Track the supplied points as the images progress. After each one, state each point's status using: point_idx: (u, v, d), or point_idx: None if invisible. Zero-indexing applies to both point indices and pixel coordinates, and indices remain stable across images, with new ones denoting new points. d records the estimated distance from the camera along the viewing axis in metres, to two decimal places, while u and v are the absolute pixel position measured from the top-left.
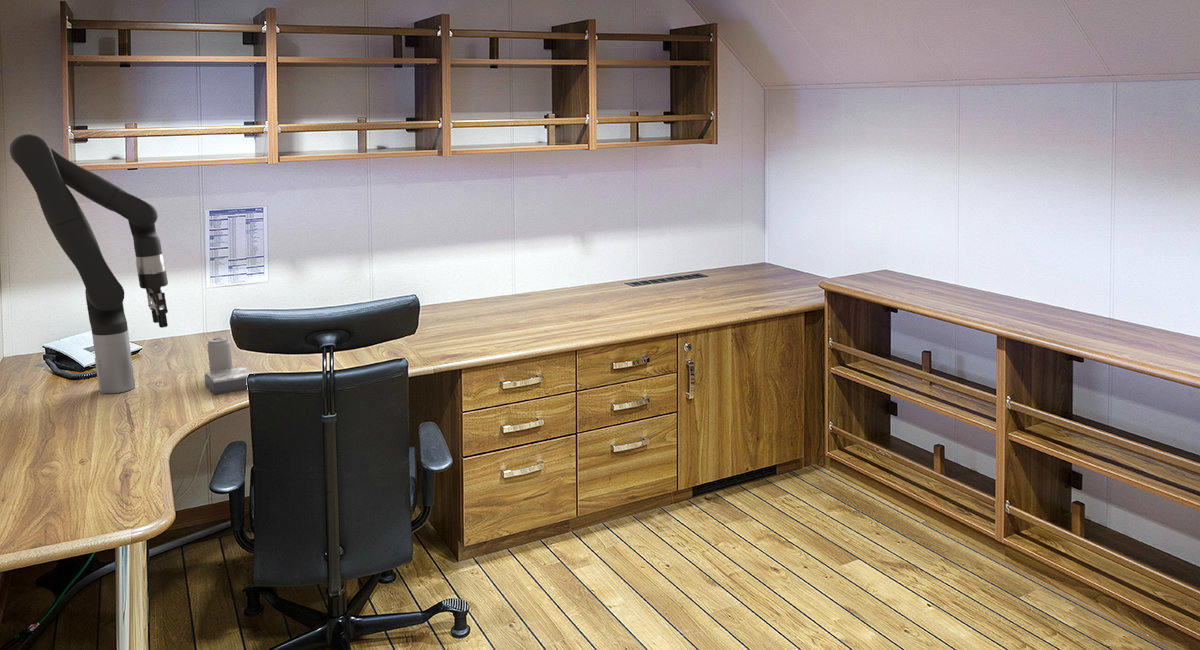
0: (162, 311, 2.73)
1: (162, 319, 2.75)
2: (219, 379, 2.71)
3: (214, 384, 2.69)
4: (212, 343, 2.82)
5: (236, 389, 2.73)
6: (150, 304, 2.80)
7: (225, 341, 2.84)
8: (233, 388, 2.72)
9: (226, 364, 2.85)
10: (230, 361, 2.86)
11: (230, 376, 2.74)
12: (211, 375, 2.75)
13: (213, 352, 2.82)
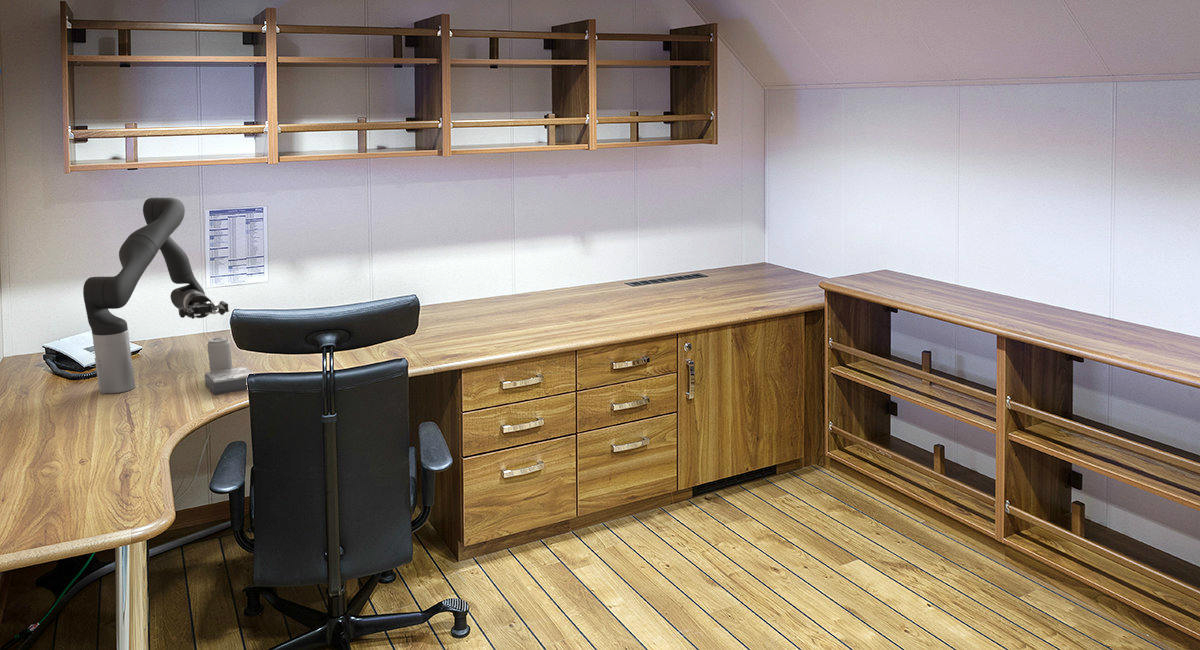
0: None
1: None
2: (219, 379, 2.71)
3: (214, 384, 2.69)
4: (212, 343, 2.82)
5: (236, 389, 2.73)
6: (193, 307, 2.96)
7: (225, 341, 2.84)
8: (233, 388, 2.72)
9: (226, 364, 2.85)
10: (230, 361, 2.86)
11: (230, 376, 2.74)
12: (211, 375, 2.75)
13: (213, 352, 2.82)
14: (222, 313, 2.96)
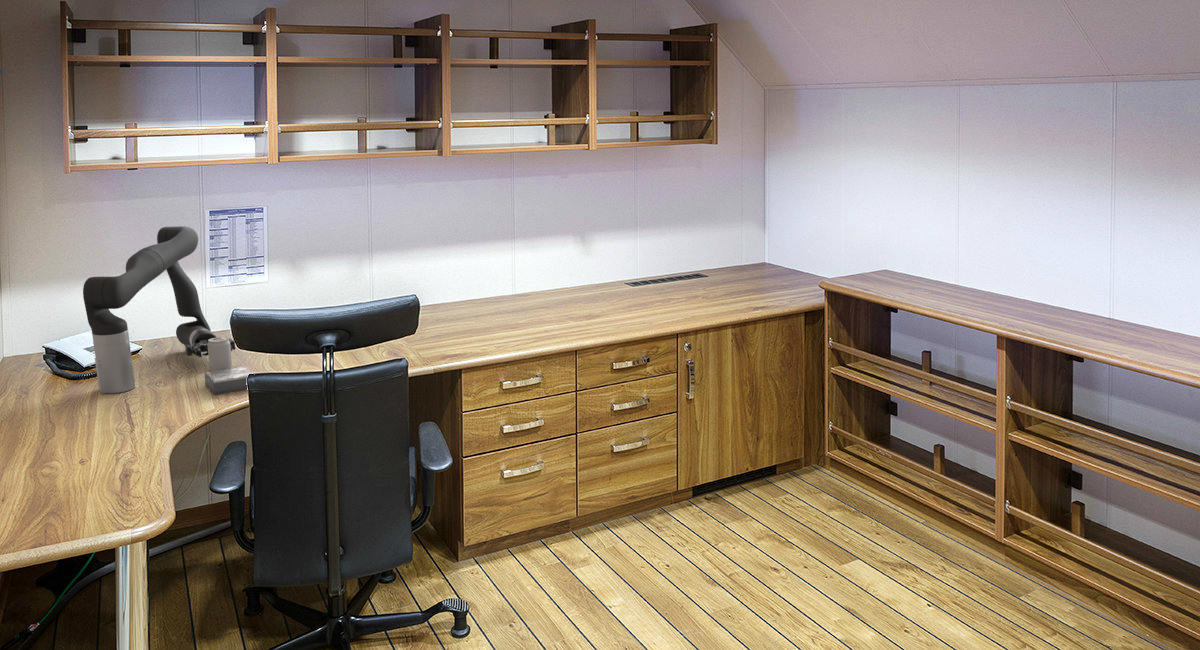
0: None
1: None
2: (219, 379, 2.71)
3: (214, 384, 2.69)
4: (212, 343, 2.82)
5: (236, 389, 2.73)
6: (200, 345, 2.95)
7: (225, 341, 2.84)
8: (233, 388, 2.72)
9: (226, 364, 2.85)
10: (230, 361, 2.86)
11: (230, 376, 2.74)
12: (211, 375, 2.75)
13: (213, 352, 2.82)
14: None
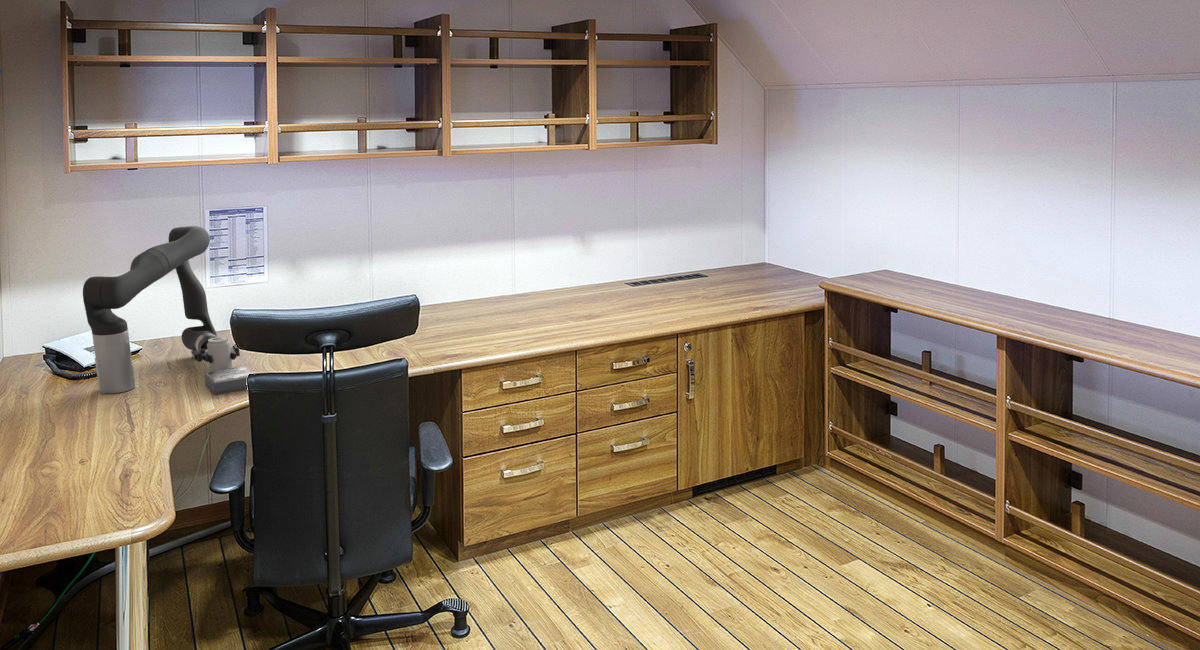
0: None
1: None
2: (219, 379, 2.71)
3: (214, 384, 2.69)
4: (212, 343, 2.82)
5: (236, 389, 2.73)
6: None
7: (225, 341, 2.84)
8: (233, 388, 2.72)
9: (226, 364, 2.84)
10: (230, 361, 2.86)
11: (230, 376, 2.74)
12: (211, 375, 2.75)
13: (213, 352, 2.82)
14: (233, 358, 2.86)
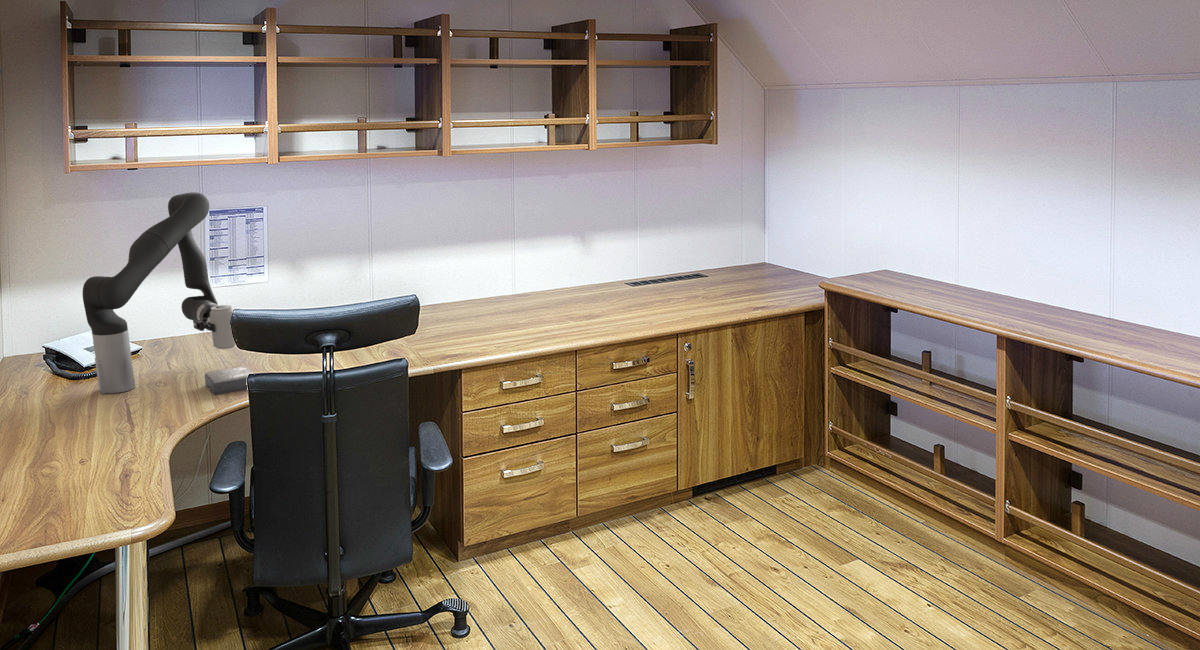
0: None
1: None
2: (219, 379, 2.71)
3: (214, 384, 2.69)
4: (215, 311, 2.73)
5: (236, 389, 2.73)
6: None
7: (228, 309, 2.74)
8: (233, 388, 2.72)
9: (230, 333, 2.75)
10: None
11: (230, 376, 2.74)
12: (211, 375, 2.75)
13: (216, 320, 2.73)
14: None
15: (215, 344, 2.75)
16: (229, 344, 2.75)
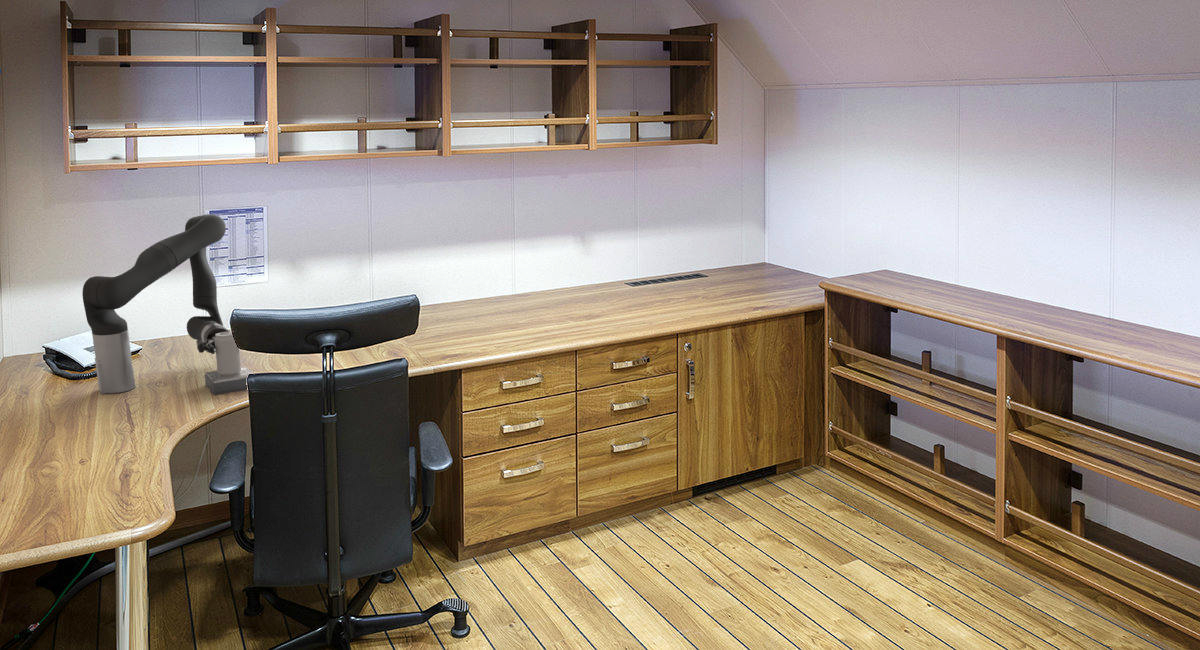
0: None
1: None
2: (219, 379, 2.71)
3: (214, 384, 2.69)
4: (219, 338, 2.72)
5: (236, 389, 2.73)
6: (213, 341, 2.76)
7: None
8: (233, 388, 2.72)
9: (234, 360, 2.74)
10: (238, 356, 2.75)
11: (230, 376, 2.74)
12: (211, 375, 2.75)
13: (220, 347, 2.72)
14: None
15: (219, 371, 2.74)
16: (233, 371, 2.74)
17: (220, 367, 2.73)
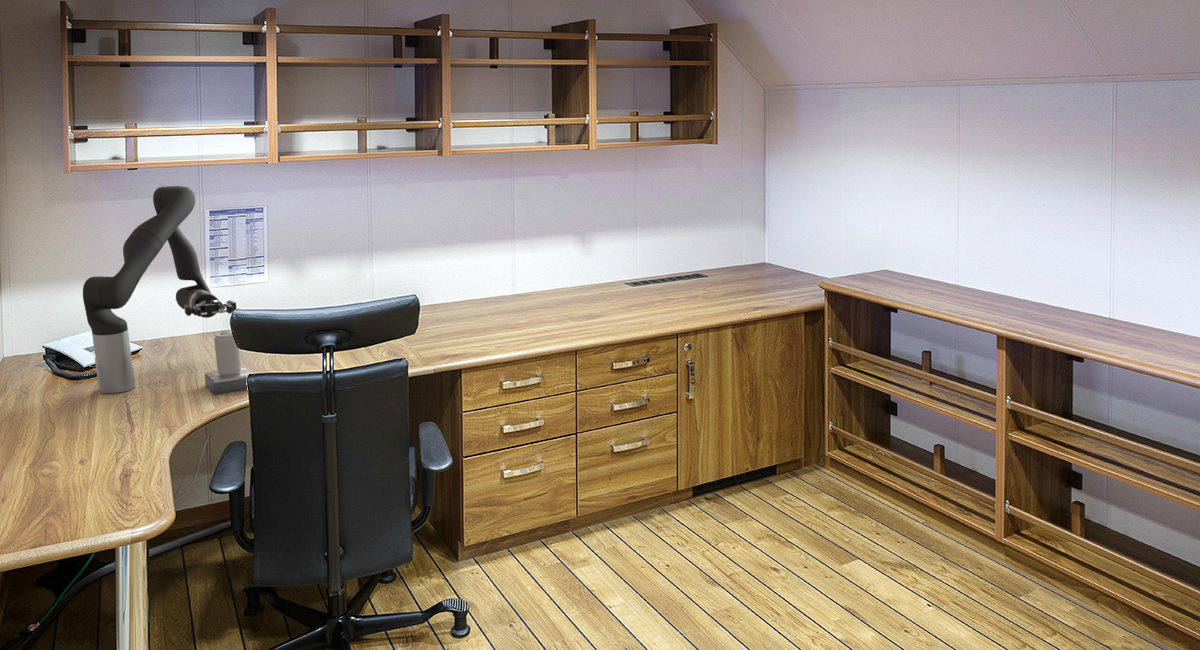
0: None
1: None
2: (219, 379, 2.71)
3: (214, 384, 2.69)
4: (219, 338, 2.71)
5: (236, 389, 2.73)
6: (200, 305, 2.85)
7: None
8: (233, 388, 2.72)
9: (234, 360, 2.74)
10: (238, 356, 2.75)
11: (230, 376, 2.74)
12: (211, 375, 2.75)
13: (220, 347, 2.72)
14: (230, 311, 2.84)
15: (219, 371, 2.74)
16: (233, 371, 2.74)
17: (220, 367, 2.73)
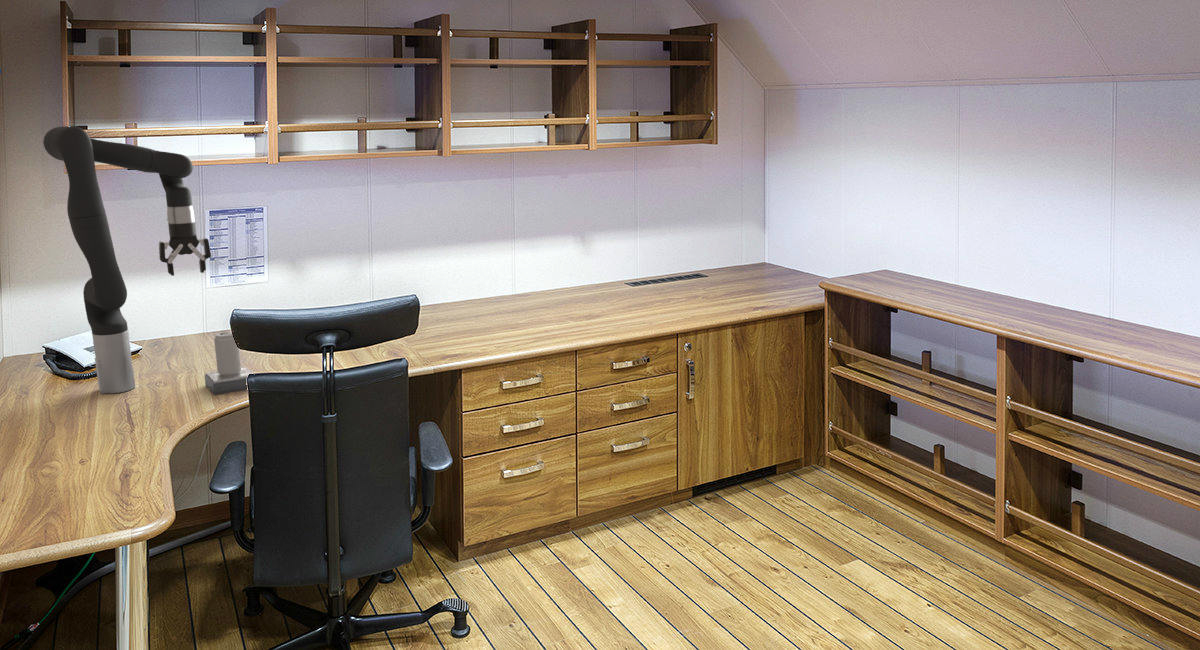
0: None
1: None
2: (219, 379, 2.71)
3: (214, 384, 2.69)
4: (219, 338, 2.71)
5: (236, 389, 2.73)
6: None
7: None
8: (233, 388, 2.72)
9: (234, 360, 2.74)
10: (238, 356, 2.75)
11: (230, 376, 2.74)
12: (211, 375, 2.75)
13: (220, 347, 2.72)
14: None
15: (219, 371, 2.74)
16: (233, 371, 2.74)
17: (220, 367, 2.73)
